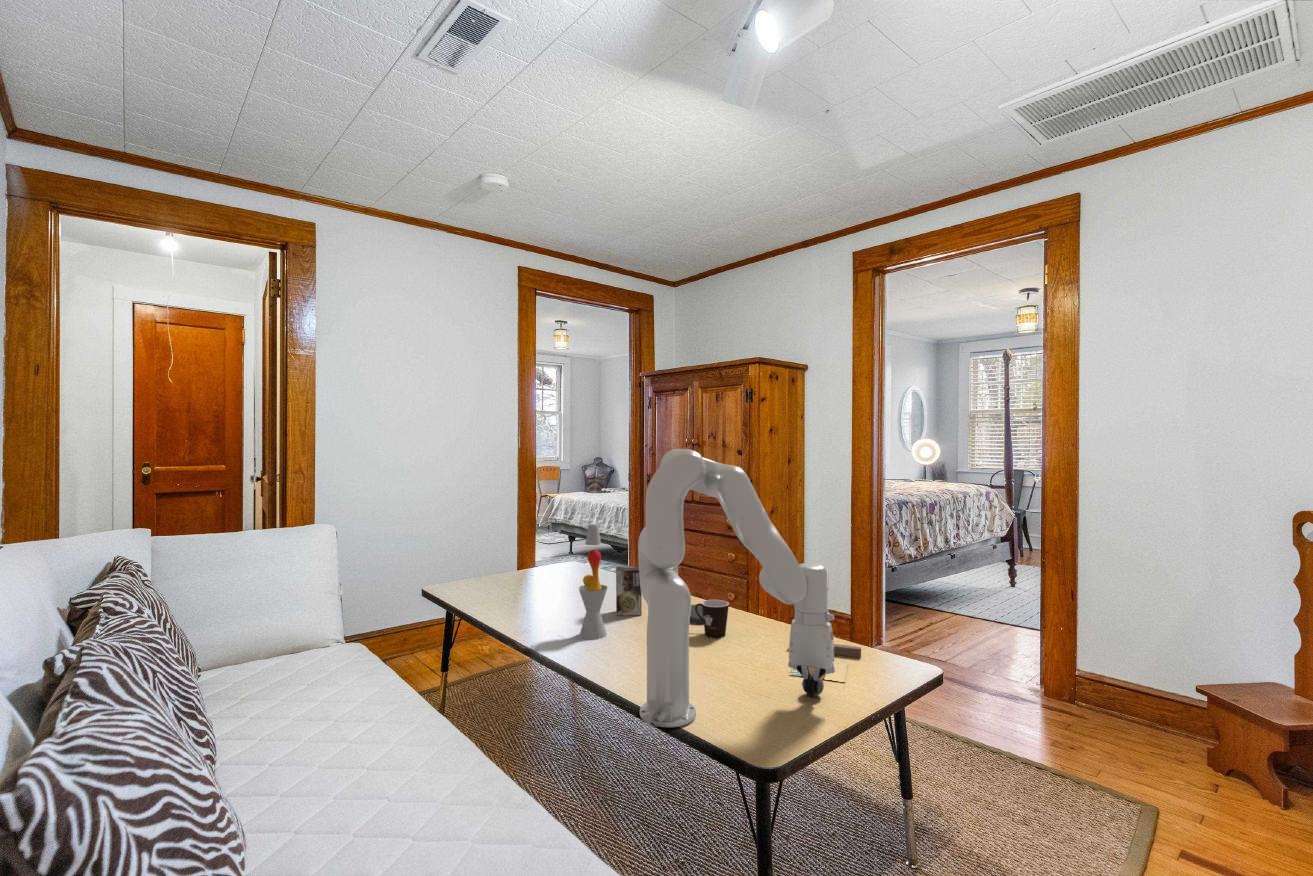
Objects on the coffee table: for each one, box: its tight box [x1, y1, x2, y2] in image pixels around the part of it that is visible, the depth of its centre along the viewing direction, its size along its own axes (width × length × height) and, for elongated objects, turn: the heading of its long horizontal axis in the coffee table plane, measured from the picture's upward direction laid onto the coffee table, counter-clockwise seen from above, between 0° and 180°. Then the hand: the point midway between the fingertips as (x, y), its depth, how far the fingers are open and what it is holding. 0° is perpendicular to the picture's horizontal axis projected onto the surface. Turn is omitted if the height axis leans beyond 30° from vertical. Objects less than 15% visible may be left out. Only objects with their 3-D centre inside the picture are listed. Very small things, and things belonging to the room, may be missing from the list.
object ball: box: [809, 667, 826, 681], centre depth 157 cm, size 5×5×5 cm
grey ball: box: [801, 674, 824, 697], centre depth 148 cm, size 5×5×5 cm
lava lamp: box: [578, 523, 608, 640], centre depth 193 cm, size 9×9×35 cm
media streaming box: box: [689, 604, 704, 625], centre depth 213 cm, size 15×15×3 cm
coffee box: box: [615, 565, 643, 616], centre depth 217 cm, size 9×6×16 cm
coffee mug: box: [695, 599, 730, 639], centre depth 195 cm, size 12×9×10 cm
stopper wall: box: [834, 643, 862, 658], centre depth 177 cm, size 2×20×2 cm, turn 69°
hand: (811, 694), depth 144 cm, fingers closed
